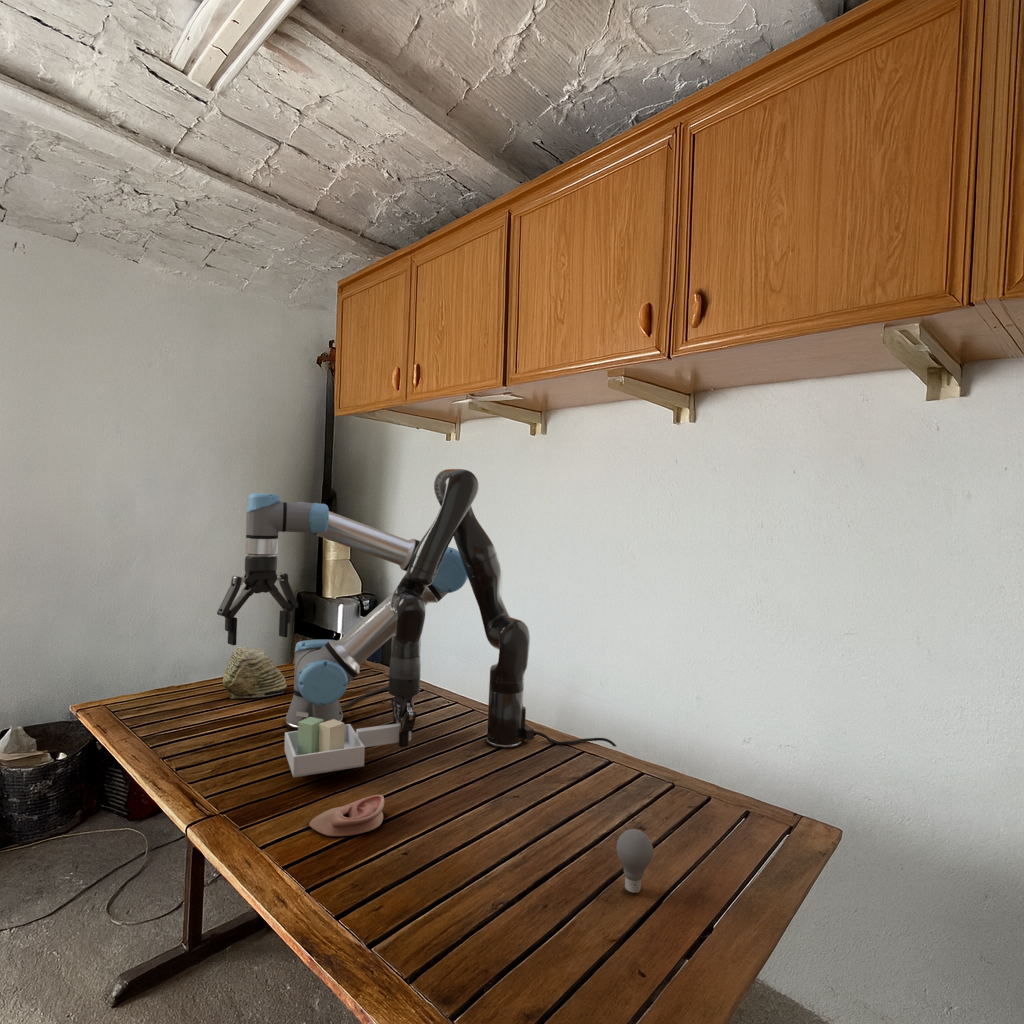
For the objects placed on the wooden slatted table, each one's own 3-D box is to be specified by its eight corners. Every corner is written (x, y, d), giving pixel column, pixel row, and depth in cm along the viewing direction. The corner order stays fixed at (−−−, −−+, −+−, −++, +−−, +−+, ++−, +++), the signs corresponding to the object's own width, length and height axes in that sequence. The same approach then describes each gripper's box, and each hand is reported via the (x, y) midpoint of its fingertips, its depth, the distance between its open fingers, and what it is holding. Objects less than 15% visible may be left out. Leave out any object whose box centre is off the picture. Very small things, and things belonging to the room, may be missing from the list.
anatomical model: (301, 810, 119) (330, 784, 130) (300, 831, 119) (330, 803, 131) (367, 821, 117) (391, 793, 128) (366, 842, 117) (390, 813, 128)
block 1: (309, 750, 149) (310, 716, 149) (322, 753, 147) (323, 719, 147) (297, 756, 145) (298, 721, 145) (311, 759, 144) (311, 724, 143)
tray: (293, 777, 135) (293, 752, 135) (284, 751, 149) (284, 728, 149) (419, 757, 148) (420, 733, 148) (400, 734, 162) (401, 713, 162)
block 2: (332, 752, 148) (333, 718, 148) (343, 757, 145) (344, 723, 145) (318, 758, 145) (319, 723, 144) (329, 763, 142) (330, 727, 142)
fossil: (218, 695, 195) (220, 647, 195) (278, 685, 208) (279, 640, 207) (228, 703, 189) (230, 653, 188) (289, 692, 201) (290, 645, 201)
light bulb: (610, 879, 108) (613, 822, 108) (644, 879, 109) (647, 822, 109) (619, 902, 102) (622, 840, 102) (655, 901, 103) (658, 840, 103)
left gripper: (297, 552, 170) (294, 631, 170) (203, 556, 150) (200, 645, 150) (313, 554, 165) (310, 635, 165) (219, 558, 145) (216, 650, 146)
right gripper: (382, 667, 158) (379, 736, 158) (397, 682, 146) (394, 757, 146) (411, 665, 161) (408, 732, 162) (428, 680, 149) (425, 753, 149)
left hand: (258, 640), depth 158 cm, fingers open, 13 cm apart
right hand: (401, 744), depth 154 cm, fingers closed on tray
